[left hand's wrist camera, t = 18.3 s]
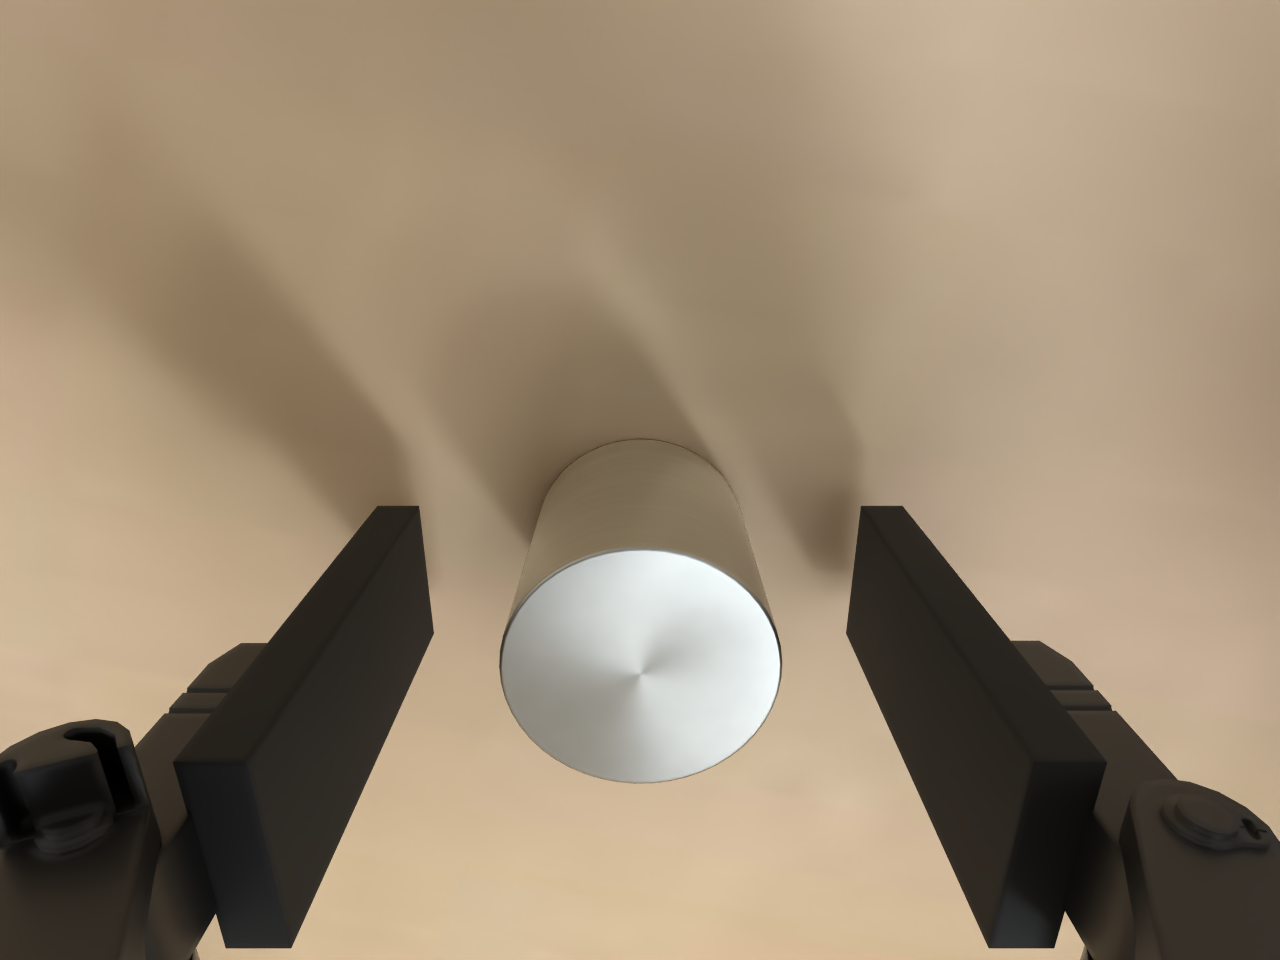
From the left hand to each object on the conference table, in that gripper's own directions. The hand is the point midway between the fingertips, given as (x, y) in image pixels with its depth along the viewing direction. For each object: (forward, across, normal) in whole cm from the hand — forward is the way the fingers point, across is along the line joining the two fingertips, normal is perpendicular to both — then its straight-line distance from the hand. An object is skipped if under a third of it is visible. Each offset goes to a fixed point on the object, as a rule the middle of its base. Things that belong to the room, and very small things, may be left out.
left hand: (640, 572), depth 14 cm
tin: (+1, 0, 0) cm, 1 cm away
